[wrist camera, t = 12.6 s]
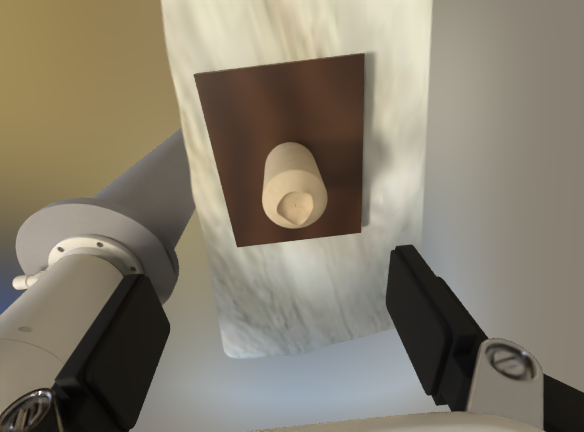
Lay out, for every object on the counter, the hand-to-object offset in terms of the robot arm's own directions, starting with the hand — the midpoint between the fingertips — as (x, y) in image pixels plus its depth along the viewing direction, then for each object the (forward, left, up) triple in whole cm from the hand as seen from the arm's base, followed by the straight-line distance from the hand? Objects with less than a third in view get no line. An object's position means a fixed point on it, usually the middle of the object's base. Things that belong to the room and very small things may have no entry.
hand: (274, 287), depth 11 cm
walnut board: (+1, -3, -23) cm, 24 cm away
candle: (+1, -3, -22) cm, 22 cm away
